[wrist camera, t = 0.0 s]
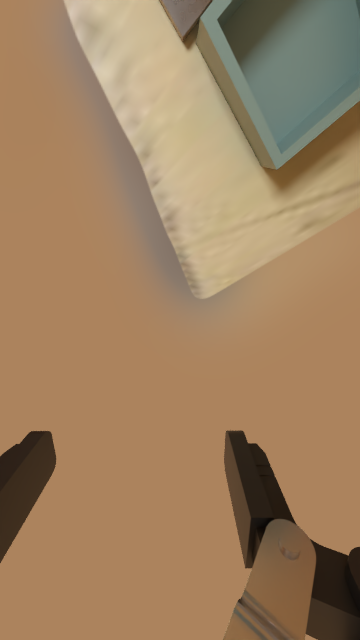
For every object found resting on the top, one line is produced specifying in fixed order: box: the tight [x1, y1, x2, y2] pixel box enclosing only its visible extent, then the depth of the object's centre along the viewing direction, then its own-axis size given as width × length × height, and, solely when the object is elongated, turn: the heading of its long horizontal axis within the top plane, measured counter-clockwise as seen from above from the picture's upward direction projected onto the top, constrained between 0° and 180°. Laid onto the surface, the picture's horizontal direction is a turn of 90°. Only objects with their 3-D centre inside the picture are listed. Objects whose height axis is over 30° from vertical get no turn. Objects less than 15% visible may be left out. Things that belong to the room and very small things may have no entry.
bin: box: [196, 0, 360, 170], centre depth 22 cm, size 14×14×6 cm
